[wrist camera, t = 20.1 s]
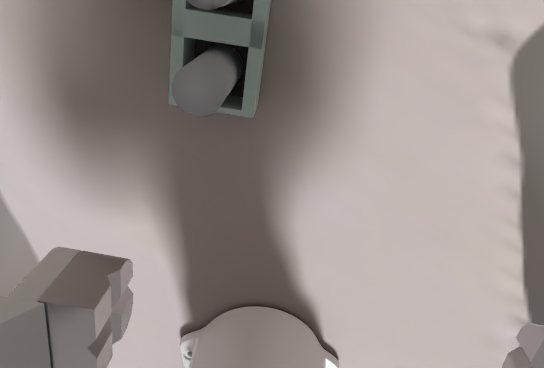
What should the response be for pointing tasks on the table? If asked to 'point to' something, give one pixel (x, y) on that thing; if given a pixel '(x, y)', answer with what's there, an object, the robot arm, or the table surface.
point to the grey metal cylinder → (210, 3)
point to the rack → (216, 58)
